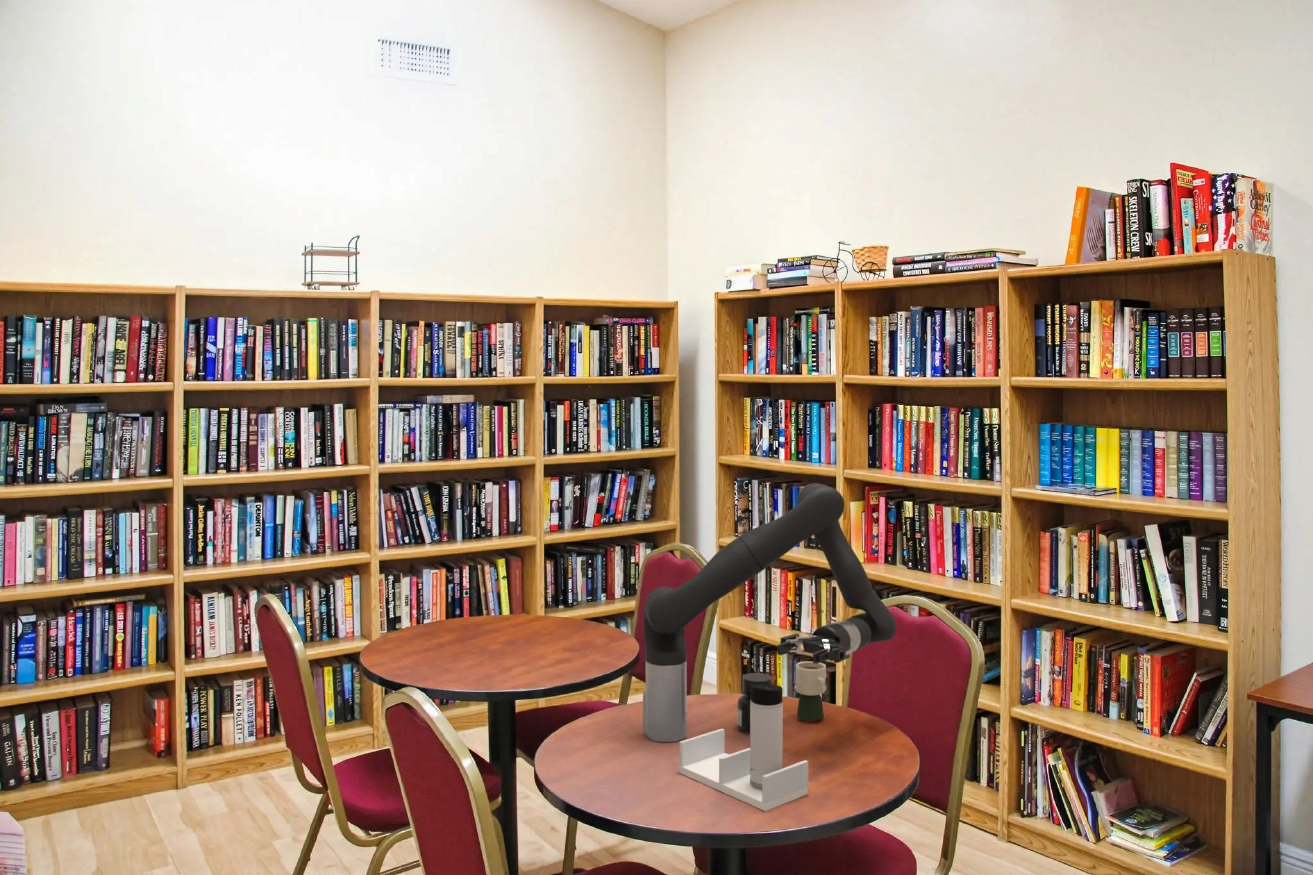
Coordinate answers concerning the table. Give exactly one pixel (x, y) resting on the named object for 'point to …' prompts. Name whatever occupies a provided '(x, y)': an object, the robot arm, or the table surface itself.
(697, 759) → the rack
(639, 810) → the table surface
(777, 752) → the travel mug
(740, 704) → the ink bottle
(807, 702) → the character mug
